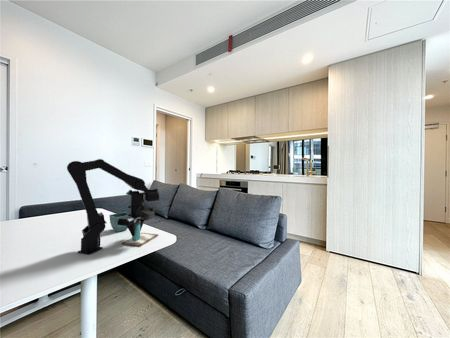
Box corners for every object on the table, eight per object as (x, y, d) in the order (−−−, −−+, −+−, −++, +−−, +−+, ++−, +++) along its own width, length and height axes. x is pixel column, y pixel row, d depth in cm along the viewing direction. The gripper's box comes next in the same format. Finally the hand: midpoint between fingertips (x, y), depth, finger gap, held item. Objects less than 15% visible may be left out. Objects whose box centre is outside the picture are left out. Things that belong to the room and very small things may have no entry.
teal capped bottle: (136, 240, 92) (137, 222, 92) (130, 240, 93) (130, 221, 93) (141, 238, 95) (142, 220, 95) (135, 237, 96) (135, 219, 96)
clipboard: (140, 246, 87) (140, 243, 87) (121, 244, 90) (121, 241, 90) (158, 235, 102) (158, 233, 102) (142, 233, 104) (142, 231, 104)
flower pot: (115, 233, 103) (115, 217, 103) (108, 230, 108) (108, 214, 108) (131, 230, 110) (131, 214, 110) (124, 226, 115) (124, 212, 115)
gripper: (138, 208, 83) (137, 243, 83) (161, 201, 101) (160, 230, 101) (116, 206, 86) (116, 240, 86) (143, 199, 104) (142, 228, 104)
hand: (136, 234), depth 94 cm, fingers closed on teal capped bottle, 4 cm apart
